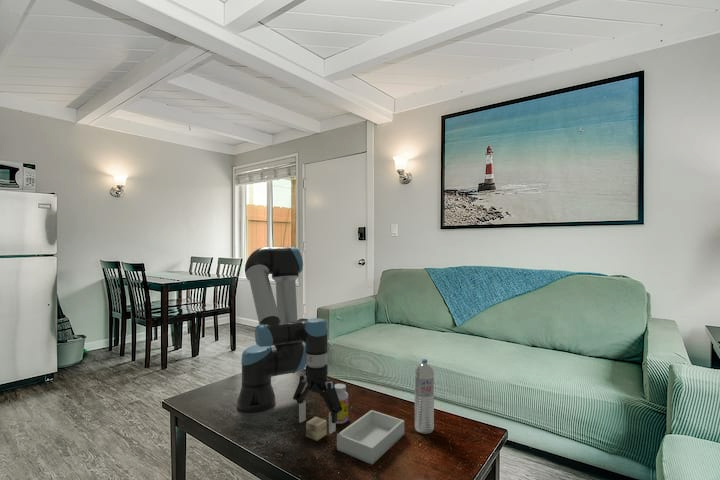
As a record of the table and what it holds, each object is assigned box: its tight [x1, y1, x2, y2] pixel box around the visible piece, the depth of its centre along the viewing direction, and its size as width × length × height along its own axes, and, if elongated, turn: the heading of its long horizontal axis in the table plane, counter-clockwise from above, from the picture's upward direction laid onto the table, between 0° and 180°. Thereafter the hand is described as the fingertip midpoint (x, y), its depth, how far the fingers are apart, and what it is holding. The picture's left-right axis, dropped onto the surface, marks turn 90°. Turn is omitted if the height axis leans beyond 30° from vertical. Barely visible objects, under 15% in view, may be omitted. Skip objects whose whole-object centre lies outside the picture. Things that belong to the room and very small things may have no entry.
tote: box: [336, 409, 405, 466], centre depth 124 cm, size 14×21×5 cm, turn 145°
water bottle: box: [414, 358, 435, 435], centre depth 132 cm, size 7×7×25 cm
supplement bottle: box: [334, 383, 349, 425], centre depth 139 cm, size 7×7×13 cm
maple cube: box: [305, 416, 328, 442], centre depth 128 cm, size 5×5×5 cm
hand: (316, 426), depth 128 cm, fingers open, 13 cm apart
